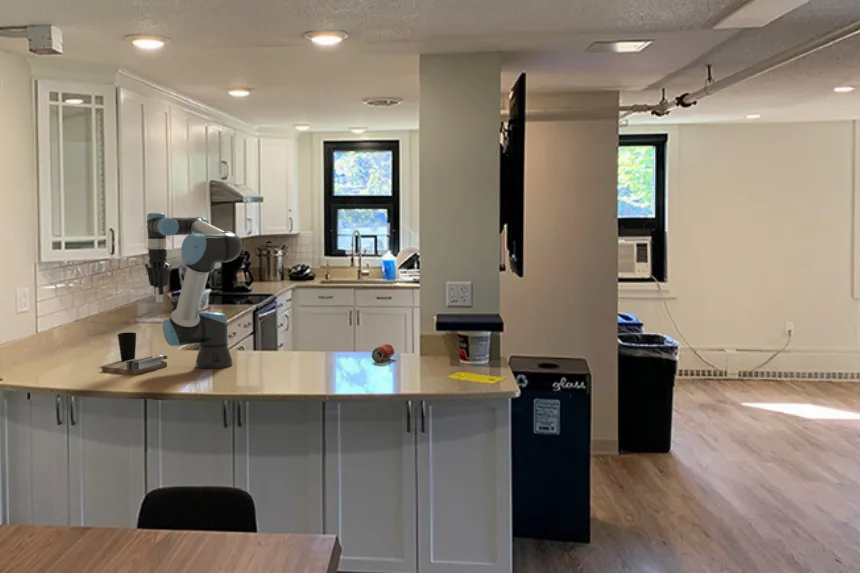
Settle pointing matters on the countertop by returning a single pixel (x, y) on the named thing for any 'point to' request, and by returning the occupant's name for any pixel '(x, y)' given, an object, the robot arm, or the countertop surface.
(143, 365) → the tongs fixed
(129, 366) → the tong arm
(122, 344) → the cup
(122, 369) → the board
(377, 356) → the beverage can
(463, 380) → the countertop surface
